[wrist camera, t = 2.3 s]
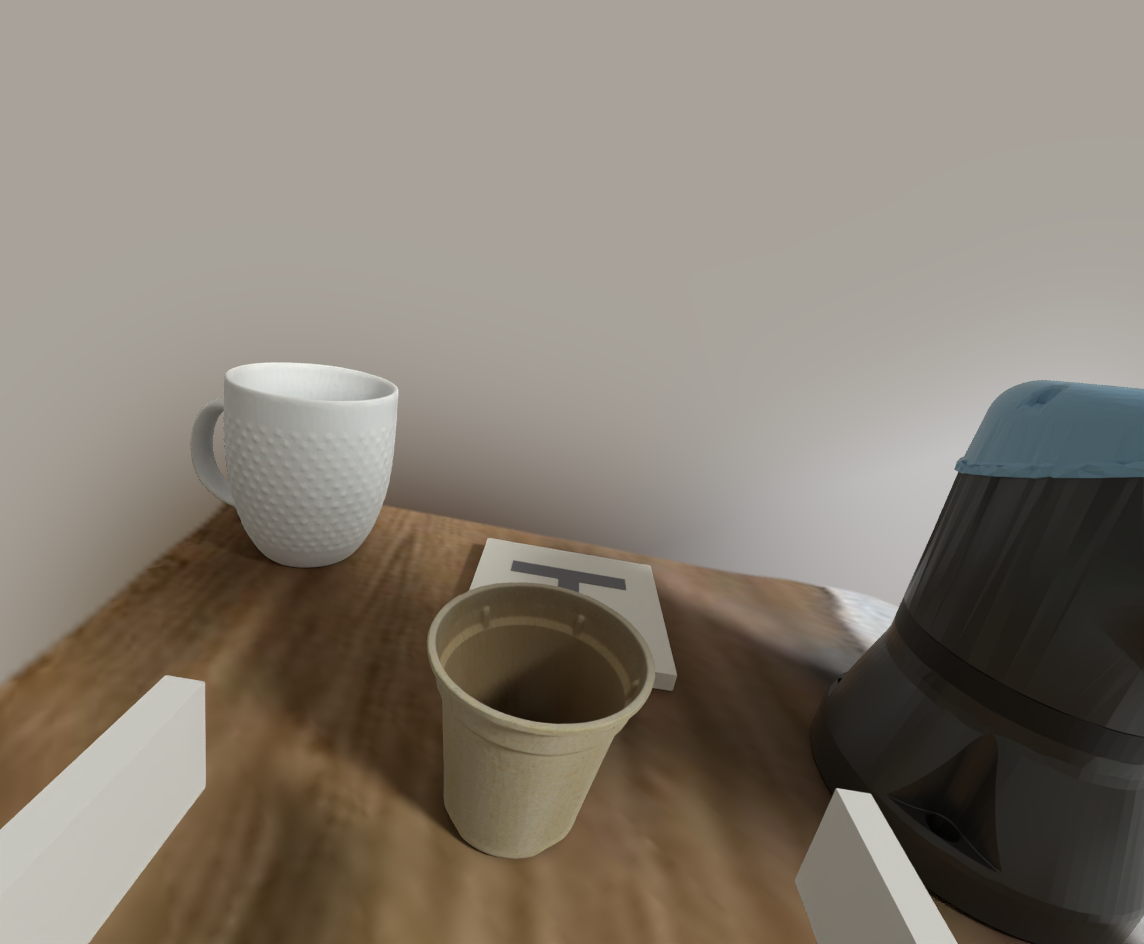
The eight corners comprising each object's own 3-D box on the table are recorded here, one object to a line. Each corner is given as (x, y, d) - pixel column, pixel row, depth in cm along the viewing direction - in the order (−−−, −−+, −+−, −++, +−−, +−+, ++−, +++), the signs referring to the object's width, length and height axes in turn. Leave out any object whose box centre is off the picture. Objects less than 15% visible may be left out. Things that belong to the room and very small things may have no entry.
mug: (137, 549, 39) (122, 361, 34) (247, 495, 49) (246, 346, 45) (340, 600, 37) (351, 412, 33) (409, 534, 48) (423, 384, 44)
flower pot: (579, 713, 32) (610, 581, 29) (644, 882, 23) (696, 719, 21) (406, 726, 29) (422, 579, 26) (410, 925, 20) (434, 740, 17)
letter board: (647, 577, 48) (650, 565, 48) (672, 691, 35) (677, 674, 34) (486, 550, 47) (488, 537, 47) (449, 654, 34) (451, 637, 34)
